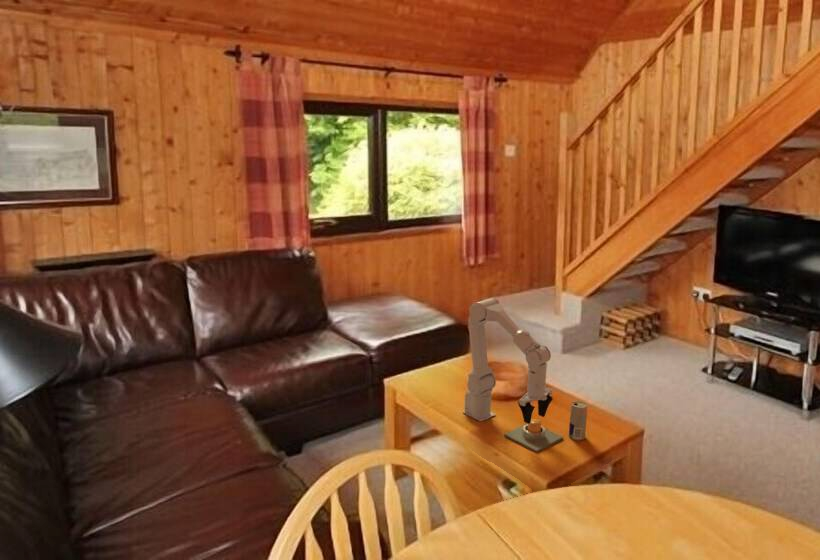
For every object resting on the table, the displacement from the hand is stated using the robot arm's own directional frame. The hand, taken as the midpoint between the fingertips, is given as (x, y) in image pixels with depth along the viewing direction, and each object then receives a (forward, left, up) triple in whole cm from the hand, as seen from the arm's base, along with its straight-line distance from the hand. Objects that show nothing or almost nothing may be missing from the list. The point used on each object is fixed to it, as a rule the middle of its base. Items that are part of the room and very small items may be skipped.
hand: (534, 419), depth 201 cm
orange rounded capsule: (0, 0, -6) cm, 6 cm away
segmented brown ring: (0, 0, -7) cm, 7 cm away
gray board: (0, 0, -7) cm, 7 cm away
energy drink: (+9, +12, -7) cm, 17 cm away
